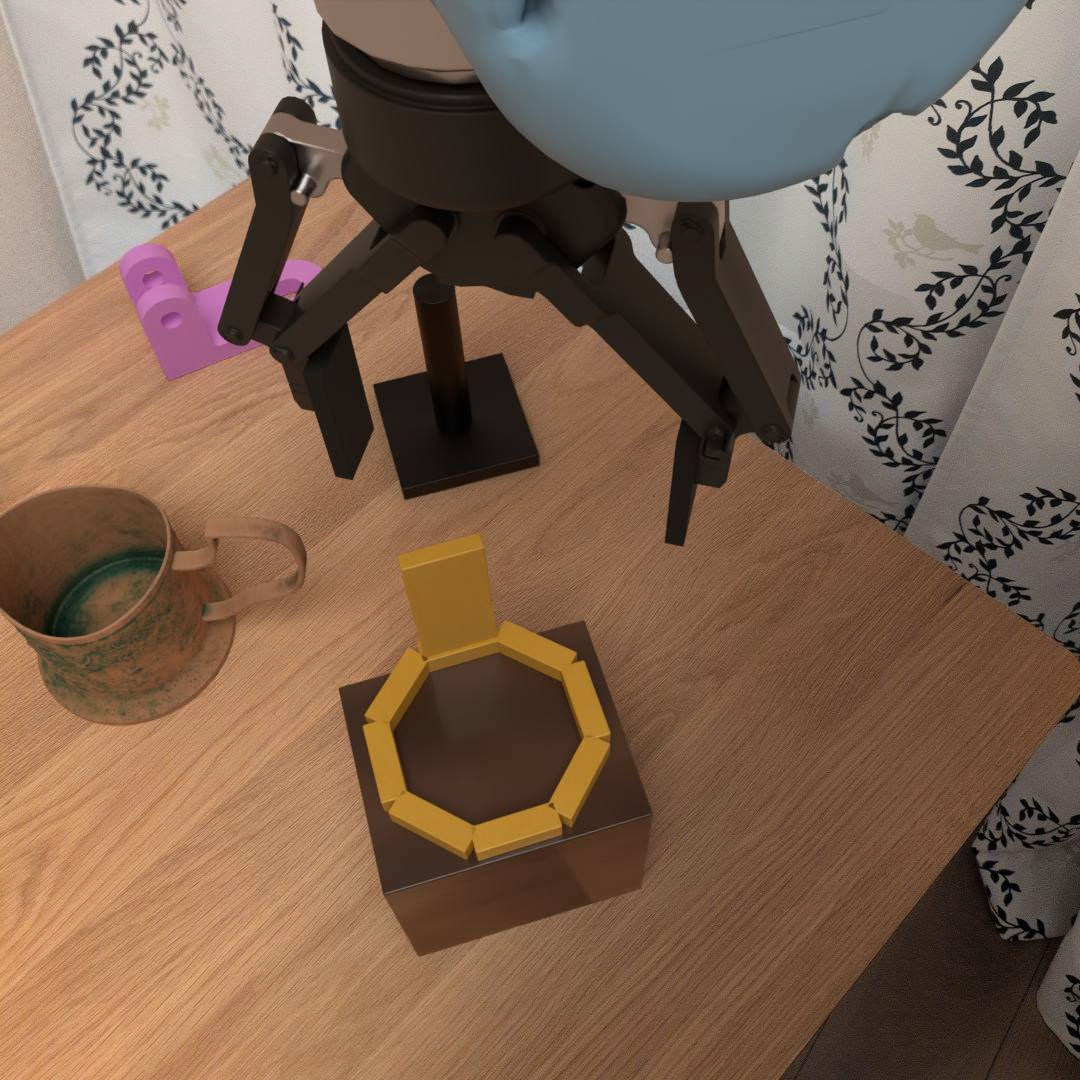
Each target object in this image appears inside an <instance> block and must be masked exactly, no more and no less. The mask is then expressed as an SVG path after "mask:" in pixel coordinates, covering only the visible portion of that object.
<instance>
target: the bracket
mask: <svg viewBox="0 0 1080 1080" xmlns="http://www.w3.org/2000/svg"><path fill="white" fill-rule="evenodd" d="M180 269H181V268H180V267H179V265H178V263H177V261H176V258H175V257H174V254H173V252H172V251H171V250H170V249H169V248H167V247H166V246H164V245H161V244H158V243H142V244H138V245H136V246H134V247H132V248H130V249H129V250H128V251H127V252H125V253H124V254H123V256H122V257H121V258H120V261H119V263H118V272H119V275H120V277H121V280H122V283H123V285H124V288H125V289H126V291H127V293H128V295H129V298H130V300H131V302H132V304H133V306H134V309H135V311H136V315H137V318H138V320H139V322H140V325H141V327H142V329H143V331H144V334H145V335H146V338H147V339H148V342H149V343H150V346H151V348H152V351H153V352H154V354H155V357H156V358H157V361H158V363H159V364H160V367H161V369H162V371H163V373H164V374H165V377H166V379H167V381H168V382H170V381H172V380H175V379H178V378H180V377H183V376H185V375H187V374H190V373H193V372H196V371H198V370H201V369H204V368H206V367H209V366H212V365H214V364H216V363H219V362H221V361H225V360H226V359H227V360H228V359H230V358H232V357H234V356H237V355H240V354H242V353H245V352H248V351H251V350H253V349H256V348H258V347H261V346H263V345H264V344H261V343H259V342H256V341H254V340H252V339H251V340H250V342H249V343H248V344H247V345H245V346H237V345H234V344H231V343H229V342H227V341H226V340H224V339H223V338H222V337H221V336H220V334H219V332H218V330H217V326H218V323H219V320H220V317H221V314H222V310H223V307H224V304H225V301H226V298H227V295H228V291H229V288H230V285H231V282H232V279H233V278H231V279H229V280H226V281H224V282H221V283H218V284H215V285H212V286H211V287H208V288H205V289H204V288H203V289H202V290H199V291H196V292H192V291H190V290H189V288H188V286H187V283H186V281H185V279H184V277H183V274H182V271H181V270H180ZM322 269H323V268H321V266H319V265H317V264H315V263H314V262H312V261H309V260H304V259H287V261H286V264H285V266H284V269H283V272H282V274H281V277H280V280H279V282H278V285H277V288H276V290H275V294H277V295H280V296H282V297H285V296H286V295H288V294H289V295H290V294H293V293H297V291H298V289H299V287H300V285H301V283H302V282H303V283H305V284H304V286H303V287H305V286H306V285H307V284H308V283H309V282H310V281H311V280H312V279H313V278H314V277H315V276H316V275H317V274H318V273H319V272H320V271H321V270H322ZM149 272H151V273H149ZM294 297H295V295H294V296H291V297H289V298H288V299H289V300H292V301H293V299H294Z"/></svg>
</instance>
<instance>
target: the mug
mask: <svg viewBox="0 0 1080 1080" xmlns="http://www.w3.org/2000/svg"><path fill="white" fill-rule="evenodd" d="M203 537H204V539H205V541H206V543H207V546H206V547H204V548H203V547H202V548H199V549H193V550H186V548H185V547H184V545H183V543H182V541H181V540H180V539H179V537H178V535H177V533H176V531H175V530H174V528H173V527H172V524H171V521H170V520H169V518H168V515H166V513H165V510H164V509H163V508H162V506H161V505H160V504H159V503H158V501H156V500H155V499H154V498H153V497H151V496H150V495H148V494H147V493H144V491H140V490H138V489H134V488H132V487H131V488H130V487H126V486H120V485H113V484H96V483H95V484H91V483H90V484H74V485H66V486H61V487H55V488H52V489H48V490H44V491H41V492H39V493H36V494H33V495H30V496H28V497H27V498H25V499H23V500H21V501H19V502H17V503H16V504H13V505H12V506H11V507H9V508H8V509H6V510H5V511H3V512H2V513H0V614H1V615H2V616H3V617H4V618H5V620H6V621H8V622H9V623H10V624H11V625H12V626H13V627H14V628H15V629H16V630H17V632H18V633H19V634H21V636H22V637H23V638H24V639H25V640H26V644H27V645H28V646H29V647H30V648H32V649H33V650H34V651H35V653H36V655H37V657H36V658H37V666H38V670H39V675H40V677H41V679H42V682H43V684H44V686H45V688H46V689H47V691H48V692H49V694H50V695H51V696H52V697H53V698H54V700H55V701H56V702H57V703H58V704H59V705H60V706H62V707H63V708H64V709H65V710H66V711H68V712H69V713H71V714H73V715H75V716H76V717H78V718H80V719H82V720H85V721H87V722H91V723H94V724H98V725H103V726H104V725H105V726H117V727H118V726H119V727H120V726H133V725H139V724H144V723H148V722H152V721H154V720H155V721H156V720H157V719H161V718H163V717H166V716H168V715H169V714H171V713H174V712H175V711H178V710H179V709H181V708H183V707H184V706H186V705H187V704H189V703H190V702H191V701H193V700H194V699H195V698H197V696H199V695H200V694H201V693H202V692H203V691H204V690H205V689H206V688H207V687H208V686H210V684H211V683H212V682H213V680H214V679H215V678H216V676H217V675H218V674H219V672H220V670H221V669H222V668H223V666H224V664H225V663H226V660H227V658H228V656H229V653H230V651H231V649H232V645H233V642H234V637H235V631H236V630H235V629H236V616H235V615H237V614H238V613H240V612H241V611H243V610H245V609H248V608H249V607H253V606H254V605H257V604H262V603H265V602H270V601H275V600H279V599H283V598H286V597H287V598H288V597H289V596H291V595H294V594H295V593H297V592H298V591H300V590H301V588H302V587H303V585H304V583H305V579H306V573H307V564H308V553H307V549H306V547H305V544H304V542H303V539H302V537H301V536H300V534H299V533H298V532H297V531H296V530H295V529H294V528H293V527H291V526H289V525H288V524H285V523H282V522H279V521H277V520H271V519H264V518H259V517H258V518H256V517H208V518H206V522H205V527H204V534H203ZM220 539H249V540H251V539H252V540H260V541H268V542H272V543H275V544H279V545H281V546H283V547H285V548H286V549H287V550H289V552H290V553H291V555H292V557H293V559H294V562H295V564H296V566H297V569H296V571H295V572H294V573H292V574H291V575H289V576H287V577H284V578H281V579H277V580H271V581H268V582H263V583H260V584H255V585H253V586H251V587H248V588H246V589H244V590H242V591H240V592H239V593H237V594H235V595H233V596H232V597H231V595H230V593H229V591H228V590H227V587H226V585H225V583H224V582H223V580H222V579H221V577H220V576H219V575H218V574H217V572H216V571H214V570H213V569H212V568H211V567H210V565H211V564H212V563H214V561H215V560H216V558H217V556H218V555H217V554H218V548H219V543H220Z"/></svg>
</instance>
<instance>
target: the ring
mask: <svg viewBox="0 0 1080 1080" xmlns="http://www.w3.org/2000/svg"><path fill="white" fill-rule="evenodd" d="M396 559H397V562H398V566H399V571H400V574H401V578H402V582H403V585H404V589H405V592H406V596H407V600H408V603H409V607H410V611H411V614H412V618H413V622H414V626H415V629H416V630H415V631H416V633H417V637H418V640H416V647H417V650H418V651H417V650H415V649H412V648H411V647H407V648H406V649H405V651H404V652H403V654H402V656H401V657H400V658H399V661H398V662H397V664H396V665H395V666H394V668H393V670H392V671H391V674H390V673H389V674H390V676H389V677H388V679H387V681H386V682H385V684H384V685H383V687H382V688H381V690H380V691H379V693H378V695H377V696H376V698H375V699H374V701H373V702H372V704H371V705H370V707H369V708H368V710H367V712H366V713H365V718H366V720H367V723H368V724H366V725H363V731H364V735H365V739H366V743H367V747H368V751H369V755H370V760H371V764H372V768H373V772H374V776H375V780H376V784H377V788H378V793H379V797H380V801H381V804H382V806H383V808H384V810H385V812H387V811H388V813H389V815H390V817H391V819H392V821H393V822H395V823H397V824H399V825H401V826H403V827H405V828H406V829H408V830H410V831H412V832H414V833H416V834H418V835H420V836H422V837H423V838H425V839H427V840H429V841H431V842H433V843H435V844H437V845H439V846H441V847H442V848H444V849H446V850H448V851H450V852H452V853H454V854H456V855H458V856H459V857H461V858H463V859H465V860H467V859H468V858H469V856H470V854H471V853H472V851H473V849H475V852H476V856H477V860H478V861H481V860H484V859H487V858H490V857H493V856H497V855H500V854H503V853H506V852H509V851H513V850H516V849H519V848H522V847H525V846H528V845H532V844H535V843H538V842H541V841H544V840H547V839H551V838H554V837H557V836H560V835H562V834H563V830H562V823H563V824H565V825H567V826H569V827H572V826H573V824H574V822H575V820H576V818H577V816H578V814H579V812H580V811H581V809H582V807H583V805H584V803H585V801H586V799H587V797H588V795H589V793H590V791H591V789H592V787H593V786H594V784H595V782H596V780H597V778H598V776H599V774H600V772H601V770H602V768H603V766H604V764H605V763H606V761H607V759H608V757H609V755H610V744H609V743H610V736H611V732H610V729H609V726H608V724H607V721H606V718H605V716H604V713H603V710H602V707H601V705H600V702H599V699H598V696H597V694H596V691H595V688H594V685H593V683H592V680H591V677H590V674H589V672H588V669H587V666H586V663H585V661H579V662H577V653H576V652H575V651H573V650H570V649H568V648H566V647H564V646H562V645H560V644H557V643H555V642H553V641H551V640H549V639H546V638H544V637H542V636H540V635H538V634H535V633H536V632H533V631H531V630H529V629H527V628H524V627H523V626H520V625H518V624H516V623H513V622H511V621H509V620H507V619H504V620H503V622H502V623H501V625H500V627H499V626H498V624H497V620H496V618H495V610H494V604H493V603H494V602H493V597H492V589H491V582H490V575H489V569H488V560H487V553H486V546H485V544H484V540H483V537H482V535H481V533H480V532H476V533H473V534H472V533H471V534H469V535H465V536H462V537H458V538H455V539H451V540H447V541H444V542H440V543H437V544H433V545H429V546H425V547H422V548H419V549H418V548H417V549H414V550H411V551H408V552H403V553H400V554H397V556H396ZM498 652H499V653H501V654H504V655H506V656H508V657H510V658H512V659H514V660H516V661H518V662H521V663H523V664H525V665H527V666H529V667H531V668H533V669H536V670H538V671H540V672H542V673H544V674H546V675H548V676H551V677H553V678H555V679H557V680H559V681H561V682H562V685H563V688H564V691H565V694H566V696H567V699H568V702H569V705H570V708H571V711H572V714H573V717H574V719H575V722H576V725H577V728H578V731H579V734H580V737H581V739H582V741H581V743H580V745H579V747H578V749H577V751H576V752H575V754H574V756H573V758H572V760H571V762H570V764H569V765H568V767H567V769H566V771H565V773H564V775H563V777H562V778H561V780H560V782H559V784H558V786H557V788H556V790H555V792H554V793H553V795H552V797H551V799H550V801H549V802H548V803H545V804H542V805H539V806H535V807H532V808H529V809H526V810H523V811H519V812H516V813H513V814H510V815H507V816H503V817H500V818H497V819H494V820H490V821H487V822H484V823H481V824H478V825H472V824H470V823H468V822H466V821H464V820H462V819H460V818H459V817H457V816H455V815H453V814H451V813H449V812H447V811H445V810H443V809H441V808H439V807H437V806H435V805H433V804H431V803H430V802H428V801H426V800H424V799H422V798H420V797H418V796H416V795H414V794H412V793H410V792H408V788H407V784H406V780H405V776H404V773H403V769H402V765H401V761H400V757H399V753H398V749H397V745H396V741H395V738H394V734H393V731H394V729H395V728H396V726H397V724H398V723H399V721H400V720H401V718H402V717H403V715H404V713H405V712H406V710H407V709H408V707H409V705H410V704H411V702H412V701H413V699H414V697H415V696H416V694H417V693H418V691H419V689H420V688H421V686H422V685H423V683H424V681H425V680H426V678H427V677H428V675H429V673H430V672H433V671H436V670H440V669H443V668H447V667H450V666H454V665H457V664H460V663H464V662H467V661H471V660H474V659H478V658H481V657H484V656H488V655H491V654H495V653H498Z"/></svg>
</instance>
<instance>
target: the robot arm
mask: <svg viewBox="0 0 1080 1080" xmlns="http://www.w3.org/2000/svg"><path fill="white" fill-rule="evenodd" d="M1028 1H1029V0H313V3H314V6H315V9H316V12H317V14H318V15H319V16H320V18H322V20H321V37H322V45H323V50H324V54H325V59H326V63H327V68H328V72H329V77H330V81H331V86H332V90H333V95H334V99H335V100H334V101H335V104H336V105H335V106H336V108H337V109H336V110H337V113H338V118H339V123H340V127H341V130H340V129H336V128H332V127H328V126H325V125H324V126H323V125H321V124H318V119H317V116H316V112H315V110H314V109H313V107H312V106H311V105H310V104H309V103H307V102H306V101H305V100H304V99H303V98H300V97H297V96H292V95H288V96H287V95H286V96H285V97H282V98H280V100H279V102H278V103H277V105H276V107H275V109H274V110H273V112H272V114H271V116H270V117H269V119H268V121H267V122H266V124H265V126H264V127H263V129H262V131H261V133H260V135H259V136H258V138H257V139H256V141H255V143H254V144H253V147H252V148H251V150H250V151H249V154H248V156H247V164H248V170H249V175H250V181H251V186H252V187H251V188H252V191H253V197H254V204H255V205H254V209H253V213H252V216H251V219H250V221H249V225H248V228H247V231H246V235H245V237H244V241H243V244H242V246H241V250H240V254H239V256H238V260H237V262H236V267H235V269H234V273H233V275H232V278H231V279H232V282H231V285H230V288H229V291H228V295H227V298H226V301H225V304H224V307H223V310H222V314H221V317H220V320H219V323H218V326H217V330H218V332H219V334H220V336H221V337H222V338H223V339H224V340H226V341H227V342H229V343H231V344H234V345H237V346H245V345H247V344H248V343H249V342H250V340H251V339H252V340H254V341H256V342H259V343H261V344H263V345H264V346H266V347H268V351H269V354H270V356H271V357H272V358H273V359H274V360H275V361H276V362H278V363H280V364H281V366H282V369H283V372H284V375H285V377H286V380H287V383H288V386H289V389H290V392H291V395H292V399H293V401H294V402H295V403H296V404H297V406H298V407H299V408H300V409H301V410H304V411H309V412H314V414H315V417H316V418H315V419H316V421H317V424H318V428H319V430H320V434H321V437H322V439H323V443H324V446H325V450H326V452H327V455H328V458H329V462H330V464H331V468H332V471H333V473H334V476H335V478H338V479H339V478H340V479H343V480H349V481H354V479H355V477H356V474H357V471H358V470H359V466H360V464H361V461H362V459H363V458H364V455H365V452H366V449H367V447H368V445H369V442H370V440H371V438H372V436H373V433H374V431H375V425H374V422H373V417H372V414H371V409H370V407H369V402H368V398H367V395H366V390H365V386H364V382H363V379H362V375H361V371H360V366H359V362H358V359H357V355H356V352H355V351H356V350H355V347H354V344H353V340H352V336H351V335H352V334H351V332H350V328H349V324H348V322H349V321H350V320H352V319H353V318H354V317H355V316H356V315H357V314H358V313H360V312H361V311H362V310H363V309H364V308H366V307H367V306H368V305H369V304H370V303H371V302H373V300H375V299H376V298H377V297H378V296H379V295H380V294H381V293H383V294H384V295H388V294H389V293H391V292H392V291H393V290H394V289H395V288H397V286H399V285H400V284H401V283H402V282H403V281H404V280H405V279H407V277H409V276H410V275H412V273H413V272H415V271H416V270H417V269H418V268H419V267H420V268H422V269H423V270H424V271H426V272H428V273H432V274H435V275H437V279H438V283H442V284H447V285H453V286H455V287H458V288H459V287H460V288H468V287H469V288H471V287H486V288H489V289H492V290H494V291H497V292H500V293H503V294H505V295H508V296H513V297H520V298H524V299H530V300H534V299H535V296H536V294H537V293H538V292H539V293H540V294H541V295H542V296H543V297H544V298H545V299H546V300H547V301H548V302H549V303H550V304H551V305H552V306H553V307H555V309H556V310H557V311H558V312H559V313H560V314H561V315H562V316H563V317H564V318H565V319H566V320H567V321H568V322H569V323H570V324H571V325H573V326H574V327H577V328H582V327H584V326H588V327H590V328H591V329H592V330H593V331H594V332H595V333H597V335H598V336H599V337H600V338H601V339H602V340H603V341H604V342H605V343H606V344H607V345H608V346H609V347H610V348H611V349H612V350H613V351H614V352H615V353H616V354H617V355H618V356H619V357H620V358H621V359H622V360H623V361H624V362H625V363H626V364H627V365H628V366H629V367H630V368H631V369H632V370H633V371H634V372H635V373H636V374H637V376H639V377H640V378H641V379H642V380H643V381H644V382H645V383H646V385H648V386H649V387H650V388H651V389H652V390H653V392H655V394H657V395H658V396H659V398H661V399H662V400H663V401H664V402H665V403H666V404H667V405H668V406H669V407H670V408H671V409H672V410H673V412H675V413H676V415H678V417H680V418H681V419H680V424H679V428H678V431H677V436H676V440H675V445H674V455H673V465H672V470H671V471H672V473H671V481H670V490H669V499H668V508H667V517H666V526H665V535H664V544H667V545H672V546H678V547H683V548H684V547H685V543H686V539H687V534H688V529H689V525H690V520H691V516H692V512H693V507H694V503H695V498H696V494H697V489H698V485H700V486H705V487H710V488H715V489H721V488H722V487H723V486H724V485H725V484H726V483H727V482H728V477H729V473H730V468H731V463H732V458H733V454H734V448H735V444H736V440H737V439H738V438H739V437H741V436H742V435H745V434H753V433H754V434H755V435H756V436H757V438H758V439H760V440H762V441H763V442H766V443H770V444H780V443H781V444H782V443H786V442H787V441H789V439H791V437H792V434H793V429H794V422H795V418H796V417H795V416H796V412H797V407H798V400H799V394H800V390H801V385H802V380H803V378H802V374H801V371H800V369H799V368H798V365H797V362H796V360H795V358H794V356H793V354H792V352H791V349H790V347H789V346H788V345H789V344H787V341H786V339H785V337H784V335H783V332H782V331H781V329H780V326H779V323H778V322H777V319H776V318H775V315H774V313H773V311H772V309H771V306H770V304H769V302H768V300H767V298H766V296H765V294H764V291H763V289H762V287H761V285H760V282H759V281H758V278H757V277H756V276H757V275H756V274H755V273H754V270H753V268H752V265H751V263H750V261H749V259H748V256H747V255H746V252H745V250H744V248H743V246H742V243H741V242H740V239H739V237H738V235H737V232H736V231H735V229H734V226H733V225H732V222H731V219H730V212H731V211H730V201H734V200H735V201H736V200H739V199H744V198H745V199H746V198H752V197H756V196H760V195H764V194H765V195H766V194H769V193H774V192H776V191H779V190H782V189H786V188H789V187H792V186H795V185H799V184H802V183H804V182H807V181H809V180H812V179H815V178H817V177H820V176H823V175H825V174H826V173H828V172H830V171H832V170H834V169H835V168H836V167H838V166H839V165H840V164H841V163H842V161H843V160H844V157H845V154H846V151H847V149H848V147H849V146H850V144H851V143H852V142H853V140H854V139H855V138H857V137H858V136H860V135H861V134H863V133H864V132H866V131H868V130H870V129H872V128H873V127H874V126H875V125H877V124H878V123H880V122H882V121H883V120H885V119H886V118H888V117H889V116H891V115H892V114H901V115H902V116H908V117H909V116H910V117H917V116H918V115H921V114H922V113H923V112H925V111H926V110H927V109H929V108H930V107H931V106H932V105H934V104H935V103H936V102H938V101H939V100H941V99H942V98H943V97H944V96H945V95H946V94H947V93H948V92H950V91H951V90H952V89H953V88H954V87H955V86H956V85H957V84H958V83H959V82H960V81H961V80H962V79H963V78H965V76H966V75H968V73H969V72H970V71H971V70H972V69H973V68H974V67H975V66H976V65H977V64H978V63H979V62H980V61H981V60H982V59H983V57H985V55H986V54H987V53H989V51H990V49H991V48H992V47H993V46H994V45H995V44H996V42H997V41H999V39H1000V38H1001V37H1002V35H1003V34H1004V33H1005V32H1006V31H1007V30H1008V28H1009V27H1010V26H1011V25H1012V23H1013V22H1014V20H1016V18H1017V17H1018V15H1019V14H1020V12H1021V11H1022V10H1023V9H1024V8H1025V6H1026V5H1027V3H1028ZM333 180H342V182H343V185H344V186H345V187H344V188H345V189H346V191H347V192H348V193H349V195H350V196H351V197H352V198H353V199H354V201H355V202H357V203H358V205H359V206H361V208H362V209H363V210H364V211H365V212H366V213H367V215H369V216H370V217H371V218H372V220H371V221H370V222H369V223H368V224H367V225H366V226H365V227H364V228H362V230H360V232H359V233H357V234H356V235H355V237H353V238H352V240H351V241H349V242H348V243H347V245H346V246H344V248H342V249H341V251H339V253H337V254H336V255H335V256H334V257H333V258H332V259H331V260H330V261H329V262H328V263H327V264H326V265H325V266H324V267H323V268H321V269H322V270H321V271H320V272H319V273H318V274H317V275H316V276H315V277H314V278H313V279H312V280H311V281H310V282H309V283H308V284H307V285H306V286H305V287H303V286H304V284H305V283H303V282H302V283H301V285H300V287H299V289H298V291H297V292H295V295H294V296H295V297H294V296H293V297H294V299H293V301H292V300H289V298H286V297H285V296H280V295H277V294H275V290H276V288H277V285H278V282H279V280H280V277H281V274H282V272H283V269H284V266H285V264H286V261H287V260H288V258H289V256H290V253H291V250H292V247H293V245H294V242H295V239H296V237H297V234H298V232H299V229H300V227H301V223H302V221H303V218H304V215H305V213H306V210H307V208H308V205H309V203H310V199H316V198H317V199H318V198H320V197H323V195H325V193H326V191H327V189H328V188H329V185H330V183H331V181H333ZM625 224H630V225H634V226H637V227H639V228H640V229H642V230H643V231H645V233H646V234H647V236H648V238H649V240H650V242H651V244H652V246H653V247H654V248H655V253H654V256H655V258H656V260H657V261H658V262H659V263H661V264H663V265H670V264H672V268H673V275H674V278H675V282H676V285H677V288H678V291H679V293H680V295H681V297H682V299H683V301H684V303H685V305H686V307H687V309H688V310H689V312H690V314H691V316H692V317H691V316H690V315H689V314H688V313H687V311H686V310H685V309H684V308H683V307H682V306H681V305H680V304H679V303H678V302H677V301H676V299H674V297H673V296H672V295H671V294H670V293H669V292H668V291H667V290H666V289H665V288H664V286H663V285H662V284H661V283H660V282H659V281H658V280H657V279H656V277H655V276H654V275H653V274H652V273H651V272H650V271H649V270H648V268H646V267H645V265H644V264H643V263H642V262H641V261H640V259H638V258H637V256H636V254H635V252H634V245H633V242H632V239H631V237H630V235H629V234H628V232H627V230H625V229H624V225H625ZM580 267H582V268H581V272H580V271H579V270H578V269H579V268H580Z"/></svg>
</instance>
